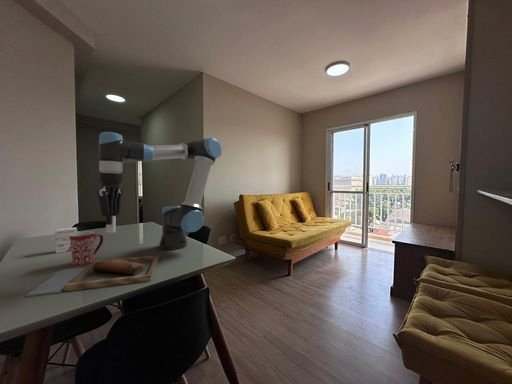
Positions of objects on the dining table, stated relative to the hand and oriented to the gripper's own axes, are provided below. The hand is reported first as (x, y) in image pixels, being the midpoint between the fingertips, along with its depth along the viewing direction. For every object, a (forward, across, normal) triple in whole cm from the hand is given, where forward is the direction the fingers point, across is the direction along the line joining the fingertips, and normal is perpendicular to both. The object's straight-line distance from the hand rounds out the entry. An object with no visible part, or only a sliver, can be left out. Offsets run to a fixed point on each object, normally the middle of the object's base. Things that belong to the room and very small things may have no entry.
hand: (110, 232), depth 81 cm
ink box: (+17, -32, -41) cm, 55 cm away
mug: (+17, -15, -19) cm, 29 cm away
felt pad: (+17, +5, -14) cm, 23 cm away
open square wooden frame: (+17, -1, +3) cm, 17 cm away
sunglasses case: (+17, -5, +2) cm, 18 cm away
